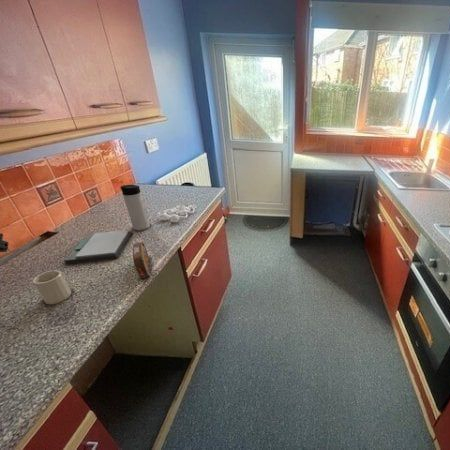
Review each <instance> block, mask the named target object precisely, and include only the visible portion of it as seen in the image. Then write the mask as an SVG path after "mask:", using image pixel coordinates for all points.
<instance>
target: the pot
mask: <svg viewBox="0 0 450 450" xmlns="http://www.w3.org/2000/svg"><path fill="white" fill-rule="evenodd" d="M32 284H33V285H34V287H35V289H36V291H37V292H38V294H39V295H40V297H41V299H42V300H43V302H44V303H45V304H46V305H54V304H55V305H56V304H59V303H61V302H64V301H65V300H68V298H69V297H70V296H71V295H72V290H71V288H70V286H69V283H68V282H67V279H65V276H64V275H63V273H62V271H60V270H58V269H53V270H47V271H44V272H42V273H40V274H38V275H36V276H35V277H34V278H33V279H32Z"/></svg>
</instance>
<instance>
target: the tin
mask: <svg viewBox="0 0 450 450" xmlns="http://www.w3.org/2000/svg"><path fill="white" fill-rule="evenodd" d="M144 243H145V242H144V241H140V242H137V243H134V244H133V246H132V259H133V264H134V267H135V270H136V271H137V273H138V276H139V278H140V279H144V278H148V277H151V275H150V274H149V260H150V258H149V257H150V256H149V253H148V251H147V248H146V246H145V244H144Z"/></svg>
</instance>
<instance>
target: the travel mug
mask: <svg viewBox="0 0 450 450" xmlns="http://www.w3.org/2000/svg"><path fill="white" fill-rule="evenodd" d="M120 190H121V194H122V196H123V197H122V198H123V199H124V203H125V206H126V209H127V213H128V217H129V219H130V223H131V225H132V228H133V231H136V232H141V231H146V230H148V229H150V227H151V225H150V220H149V216H148V213H147V210H146V207H145V203H144V202H145V201H144V199H143V196H142V191H141V189H140V185H135V184H124V185H121V186H120Z"/></svg>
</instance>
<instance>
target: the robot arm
mask: <svg viewBox="0 0 450 450" xmlns="http://www.w3.org/2000/svg"><path fill="white" fill-rule="evenodd" d="M3 238H4V234H3V233H1V232H0V253H5V252H7V251H8V250H9V245H10V244H9V243H10V242H8V241H7V240H3Z"/></svg>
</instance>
